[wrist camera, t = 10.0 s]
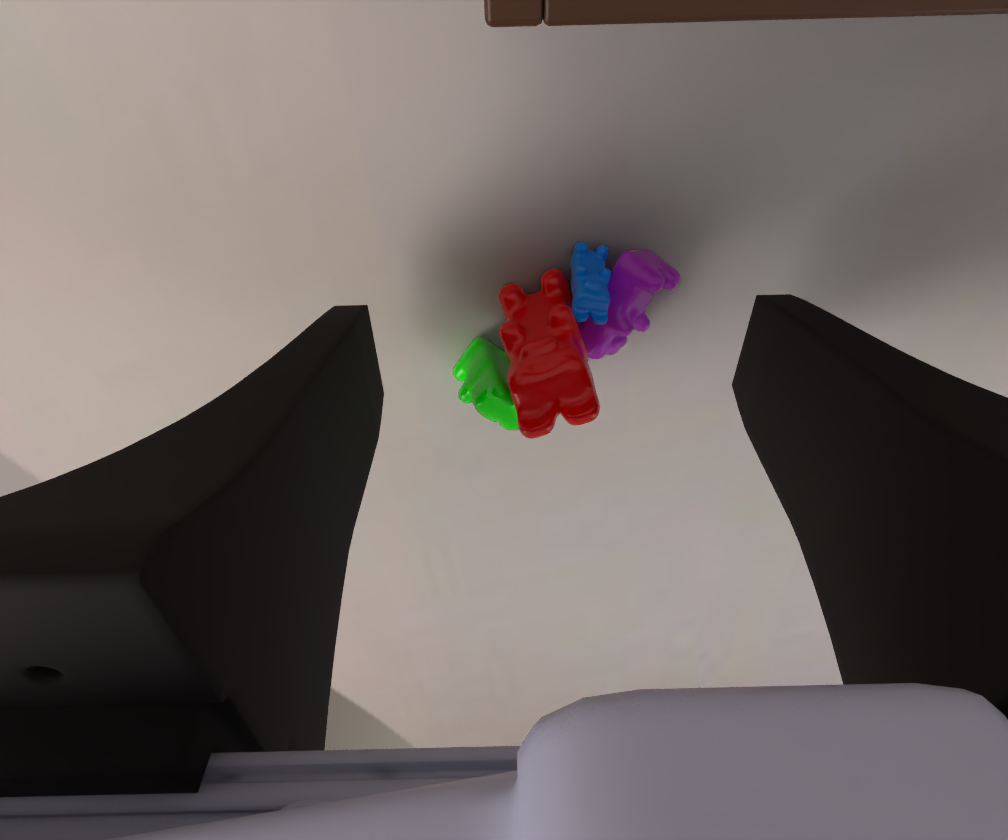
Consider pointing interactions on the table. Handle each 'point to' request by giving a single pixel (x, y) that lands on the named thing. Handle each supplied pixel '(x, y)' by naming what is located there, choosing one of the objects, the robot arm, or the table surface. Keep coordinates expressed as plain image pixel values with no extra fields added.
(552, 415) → the gummy bear
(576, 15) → the tray
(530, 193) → the table surface
